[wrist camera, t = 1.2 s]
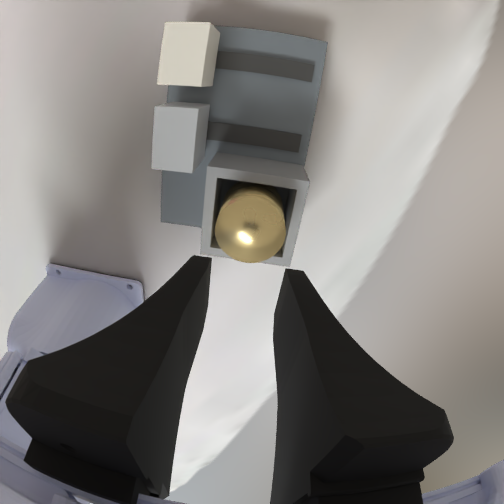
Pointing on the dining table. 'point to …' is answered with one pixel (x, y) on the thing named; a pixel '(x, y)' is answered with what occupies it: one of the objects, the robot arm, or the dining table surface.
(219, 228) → the brass button
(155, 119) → the grey rectangular block
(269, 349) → the dining table surface
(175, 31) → the cream rectangular prism
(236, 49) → the panel board
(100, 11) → the dining table surface
